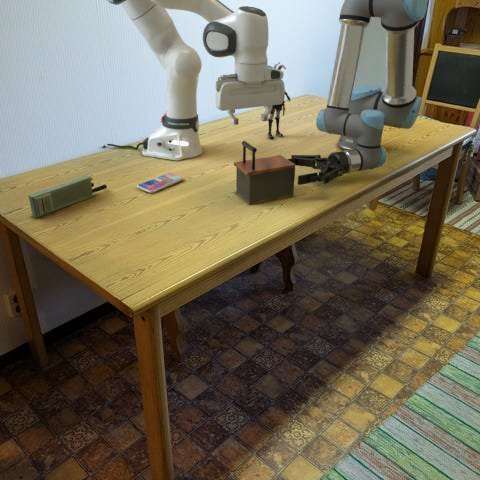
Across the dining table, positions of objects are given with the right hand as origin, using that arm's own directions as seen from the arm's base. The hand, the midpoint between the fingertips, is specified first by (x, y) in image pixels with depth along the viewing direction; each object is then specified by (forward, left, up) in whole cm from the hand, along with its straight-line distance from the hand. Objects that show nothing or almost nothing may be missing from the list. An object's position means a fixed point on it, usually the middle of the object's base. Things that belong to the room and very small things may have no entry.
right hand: (286, 172), depth 157 cm
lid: (+7, -4, +3) cm, 8 cm away
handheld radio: (+49, -43, -6) cm, 66 cm away
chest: (+6, -4, -6) cm, 10 cm away
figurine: (-42, -36, -6) cm, 56 cm away
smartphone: (+22, -34, -6) cm, 41 cm away
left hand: (+11, -6, +17) cm, 21 cm away
